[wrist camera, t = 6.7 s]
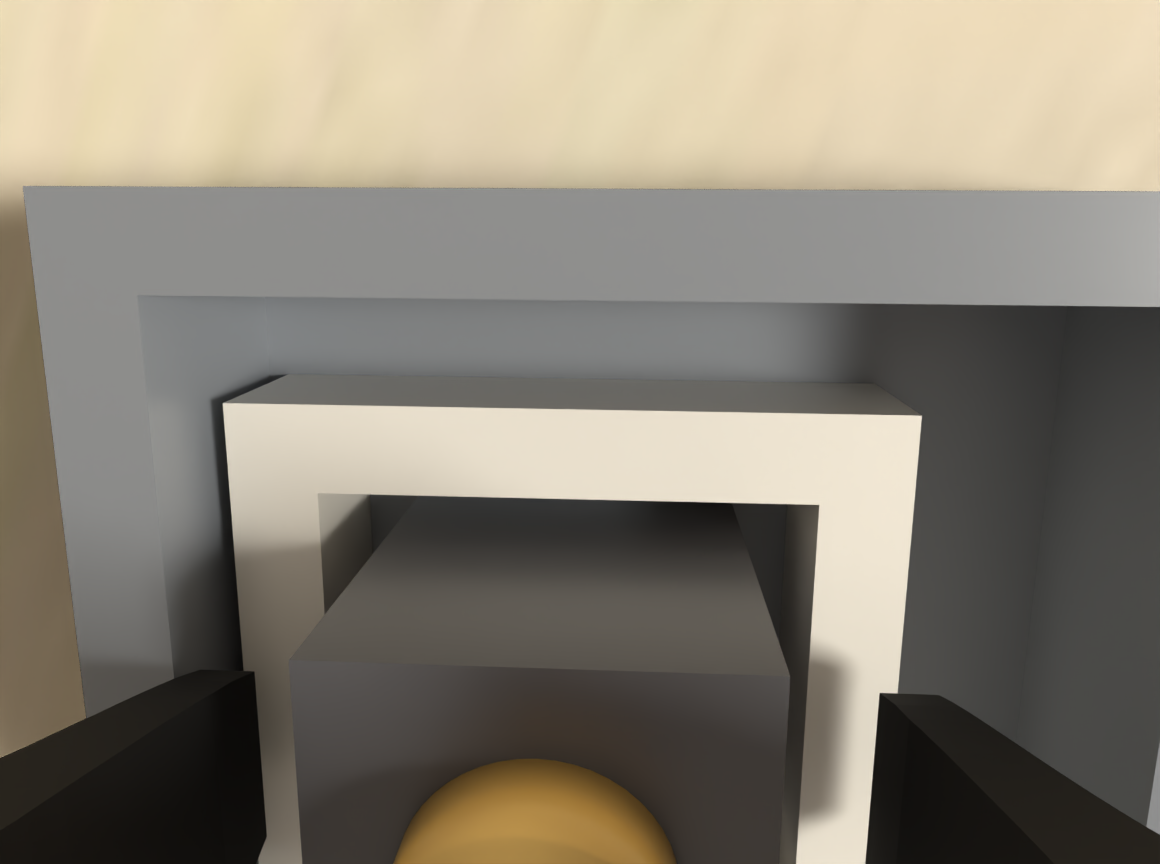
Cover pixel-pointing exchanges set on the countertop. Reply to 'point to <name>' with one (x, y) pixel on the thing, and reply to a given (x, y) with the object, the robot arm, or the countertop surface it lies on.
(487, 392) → the box
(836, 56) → the countertop surface
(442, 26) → the countertop surface
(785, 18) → the countertop surface
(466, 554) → the plug
